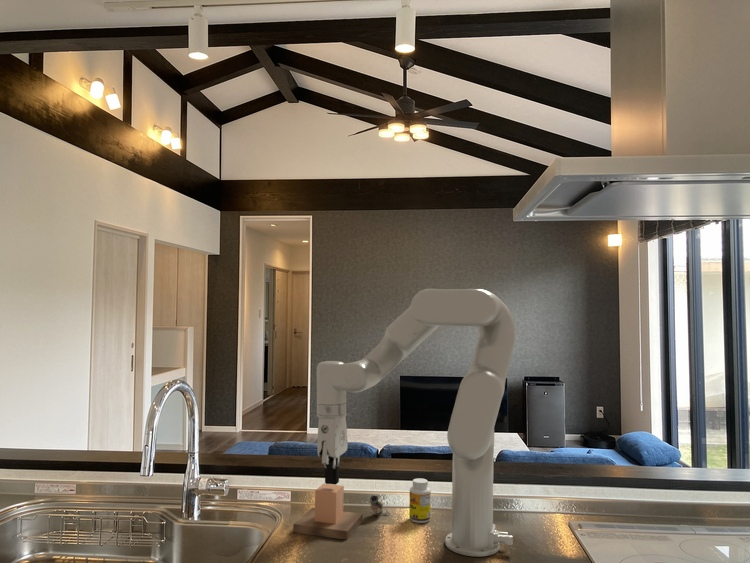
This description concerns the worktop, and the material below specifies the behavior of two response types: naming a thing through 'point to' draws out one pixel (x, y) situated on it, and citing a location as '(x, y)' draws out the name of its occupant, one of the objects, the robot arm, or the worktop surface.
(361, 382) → the robot arm
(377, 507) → the bird figurine
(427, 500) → the supplement bottle
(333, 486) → the peach upright block
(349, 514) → the walnut base board
